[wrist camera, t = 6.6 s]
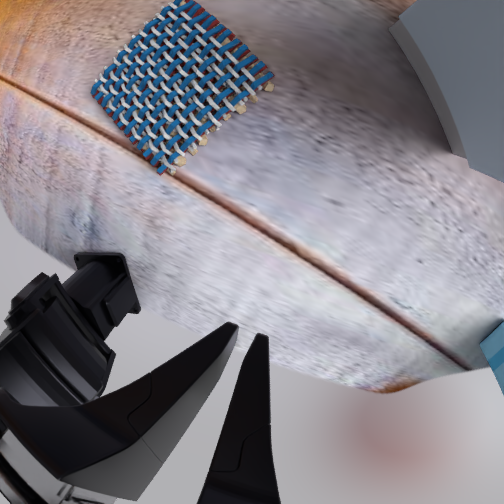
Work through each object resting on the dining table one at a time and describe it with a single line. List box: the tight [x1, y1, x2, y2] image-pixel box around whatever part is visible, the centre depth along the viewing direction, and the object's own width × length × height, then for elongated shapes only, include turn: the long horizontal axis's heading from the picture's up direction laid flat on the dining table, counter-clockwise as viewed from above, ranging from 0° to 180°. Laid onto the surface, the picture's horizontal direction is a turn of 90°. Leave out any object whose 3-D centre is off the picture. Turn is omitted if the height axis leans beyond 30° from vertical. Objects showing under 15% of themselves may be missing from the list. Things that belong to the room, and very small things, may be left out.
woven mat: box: [91, 0, 275, 176], centre depth 15 cm, size 10×11×2 cm
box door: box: [398, 0, 504, 183], centre depth 6 cm, size 1×10×9 cm, turn 31°
